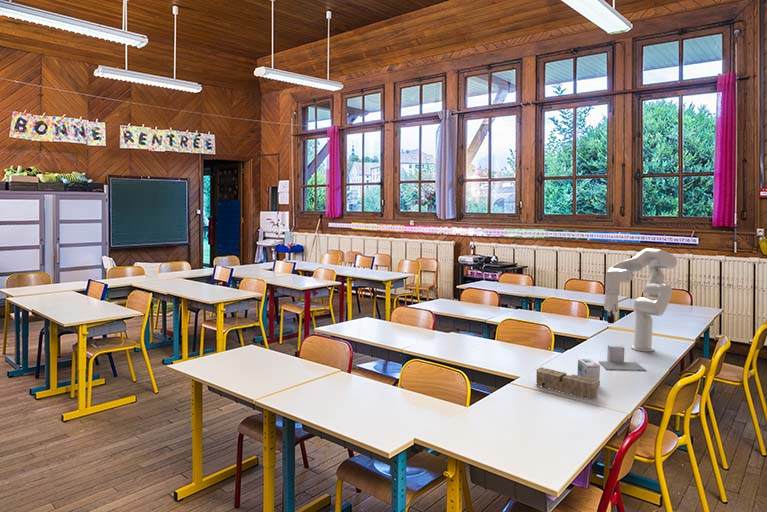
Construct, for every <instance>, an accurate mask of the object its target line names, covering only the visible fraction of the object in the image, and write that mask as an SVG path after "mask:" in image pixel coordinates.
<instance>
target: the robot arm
mask: <svg viewBox="0 0 767 512" xmlns="http://www.w3.org/2000/svg"><path fill="white" fill-rule="evenodd" d="M677 264H678V260H677V257H676V255H674V254H673V253H670V252H668V251H666V250H664V249H660V248H659V249H658V248H644V249H642V250H641V251H639V252H638V253H637V254H635V255H634V256H633V257H632V258H630V259H625V260H623V261H620V262H617V263H615V264H613V265H612V266H610V268H609V269H608V270H606V272H605V285H604V286H605V287H604V291H605V292H604V294H605V296H604V302H603V303H604V304H603V308H604V310H605V311H607V323H608V324H615V315H616V313H617V312H618V310H619V295H620V287H621V285H620V284H621V283H625V284H627V283H630V282H631V281H632V280H633V279H634V275H633V274H634V272H639V271H642V270H644V268H645V267H648V269H649V270H648V272H649V276H648V277H647V280H646V282H645V284H644V286H643V290H642V294H643V296H645V297H643V296H642V297H638V298H636V299H635V300H634V302H633V308H634V315H635V317H634V341H633V344H632V345H631V347H630V348H631V349H632V350H635V351H637V352H638V351H639V352H653V351H655V348H654V347H653V346H652V344H653V343H652V342H653V323H654V322H653V317H652V316H656V317H661V316H663V315H664V314H665V312H666V311H667V308H668V305H669V303H670V301H671V298H672V295H673V288H672V286H670V284H667V283H664V282H665V273H664V272H663V270H662V269H667V270H672V269H674V268H676V267H677Z"/></svg>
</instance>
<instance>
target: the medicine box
mask: <svg viewBox="0 0 767 512" xmlns="http://www.w3.org/2000/svg"><path fill="white" fill-rule="evenodd" d="M625 349H626V348H625V346H623V345H613V344H611V345H610V344H609V345H607V357H606V358H607V360H606V361H608V362H625Z"/></svg>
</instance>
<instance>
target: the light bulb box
mask: <svg viewBox="0 0 767 512" xmlns="http://www.w3.org/2000/svg"><path fill="white" fill-rule="evenodd" d="M600 374H601V364H600V363H598V362H596V361H594V360H592V359H591V358H584V359H583V358H582V359H581V358H580V359H577V375H578V376H582V377H586V378H590V379H597V380H601V379H600Z"/></svg>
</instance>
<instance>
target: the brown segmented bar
mask: <svg viewBox="0 0 767 512" xmlns="http://www.w3.org/2000/svg"><path fill="white" fill-rule="evenodd" d="M535 379H536V383H537V384H536V386H537V385H538V386H544V385H545V386H544V388H545V387H546V388H550V389H553V390H552V391H554V390H557V391H556V392H558V391H560V392H559V393H561V392H564V393H563V394H566V393H568V394H567V395H569V394H572V395H571V396H573V395H575V397H577V396H579V397H578V398H581V397H583V398H582V399H585V398H588V399H587V400H589V399H590V398H591V399H593V398H595V397H596V396H597V395H598V394H597V393H598V392H597V391H598V388H599V387H600V386H601V379H599V380H597V379H590V378H586V377H582V376H578V375H576V374H573V373H572V374H571V375H568V374H567V372H564V371H558V370H555V369H550V368H546V367H539V368H537V369H536V378H535ZM538 386H537V387H538ZM598 386H599V387H598ZM546 388H545V389H546ZM550 389H549V390H550ZM594 396H595V397H594ZM592 397H593V398H592ZM591 399H590V400H591Z"/></svg>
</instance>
